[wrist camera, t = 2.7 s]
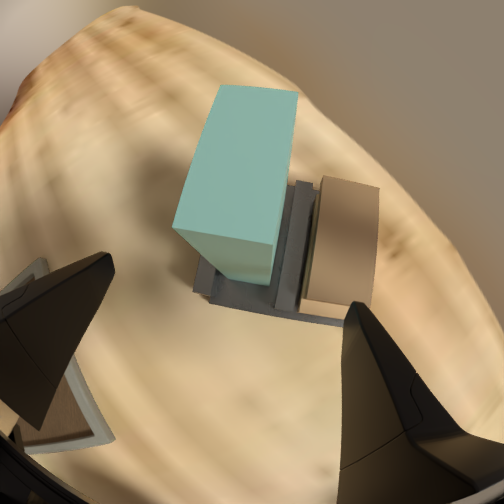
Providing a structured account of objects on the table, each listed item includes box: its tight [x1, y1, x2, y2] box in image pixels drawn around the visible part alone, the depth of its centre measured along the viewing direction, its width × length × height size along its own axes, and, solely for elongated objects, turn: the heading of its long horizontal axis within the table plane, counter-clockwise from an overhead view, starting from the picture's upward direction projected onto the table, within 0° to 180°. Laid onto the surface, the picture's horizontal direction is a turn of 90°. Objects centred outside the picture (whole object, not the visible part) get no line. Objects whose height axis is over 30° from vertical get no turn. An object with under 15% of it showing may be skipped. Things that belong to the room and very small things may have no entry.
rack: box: [193, 180, 344, 327], centre depth 19 cm, size 10×11×3 cm
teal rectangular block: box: [172, 85, 298, 287], centre depth 14 cm, size 6×3×12 cm, turn 169°
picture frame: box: [0, 258, 116, 454], centre depth 19 cm, size 19×2×30 cm
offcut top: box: [304, 175, 379, 308], centre depth 17 cm, size 8×4×1 cm, turn 169°
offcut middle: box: [297, 194, 349, 320], centre depth 18 cm, size 8×4×1 cm, turn 169°
